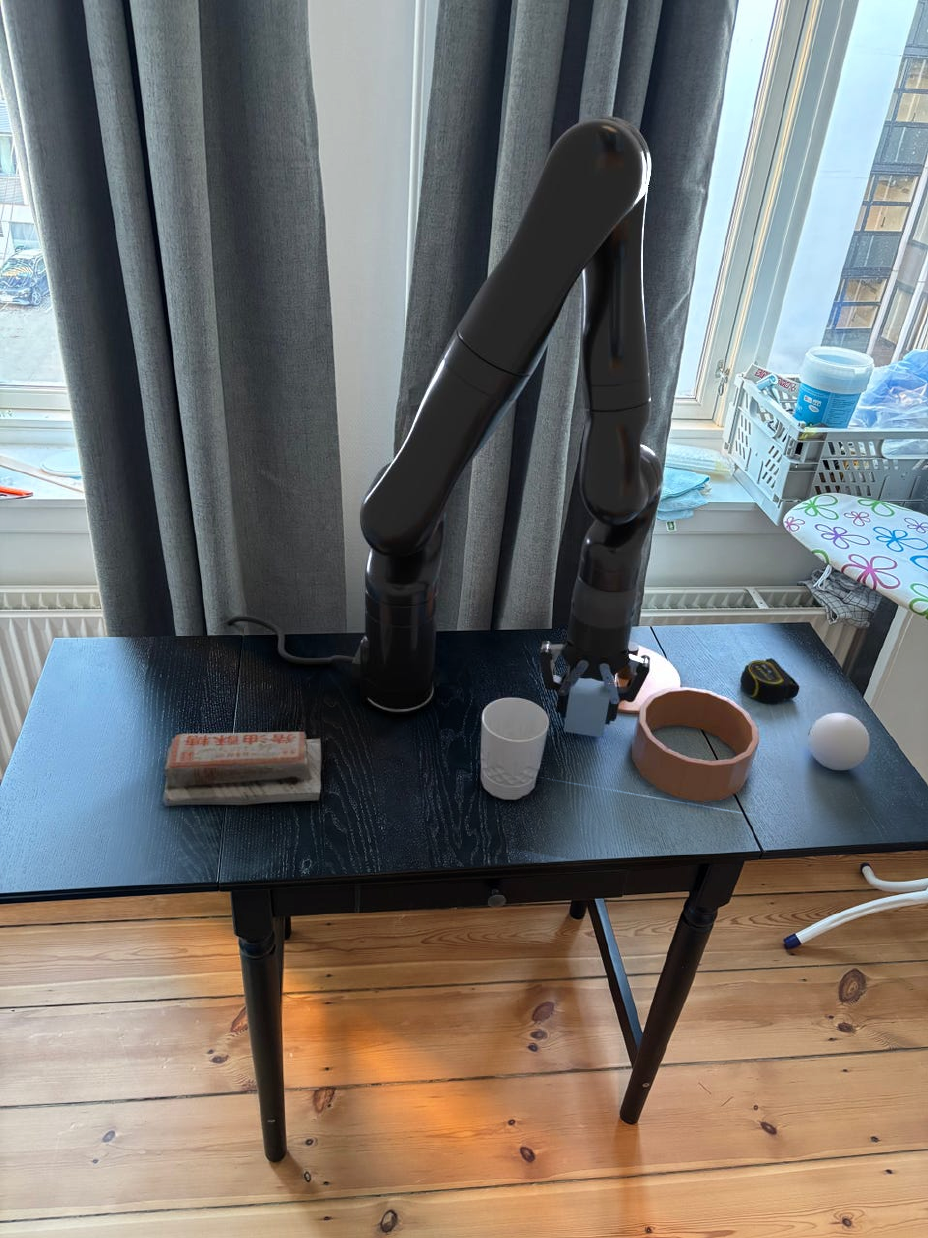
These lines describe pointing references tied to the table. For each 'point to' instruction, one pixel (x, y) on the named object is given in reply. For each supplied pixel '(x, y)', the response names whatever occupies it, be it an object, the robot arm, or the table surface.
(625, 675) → the lid
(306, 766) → the packaged product
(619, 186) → the robot arm
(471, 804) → the table surface
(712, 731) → the orange round container
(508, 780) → the white cup
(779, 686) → the tape measure
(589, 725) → the block
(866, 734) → the white oval ball
